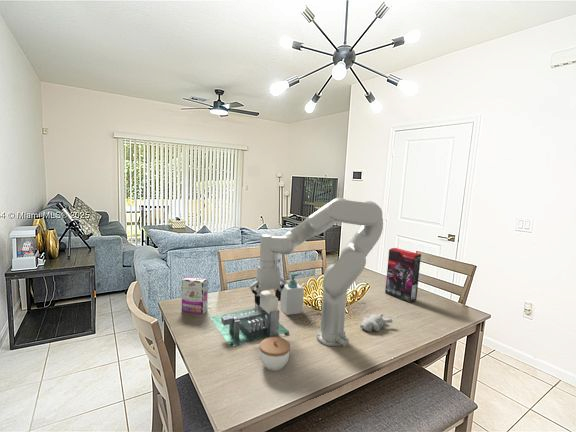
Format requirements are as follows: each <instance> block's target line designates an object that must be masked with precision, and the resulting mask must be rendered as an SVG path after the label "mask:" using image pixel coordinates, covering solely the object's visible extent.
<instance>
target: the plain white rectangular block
mask: <svg viewBox="0 0 576 432" xmlns="http://www.w3.org/2000/svg"><path fill="white" fill-rule="evenodd" d="M259 296H260V305H259V306H260V307H262V308H263V309H264V310H265V311H266V312H267V313H268V314H270V312H272V311H277V310H279V308H278V307H279V301H278V298H277V297H276V296H275V295H274V294H273V293H272V292H270V290H267V291H262V292H261V293H260V295H259Z"/></svg>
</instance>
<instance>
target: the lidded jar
mask: <svg viewBox="0 0 576 432" xmlns="http://www.w3.org/2000/svg"><path fill="white" fill-rule="evenodd" d="M290 353H291V343H290V342H289V341H288V339H285V338H283V337H278V336H271V337H267V338H264V339H263V340H262V339H261V341H260V343H259V357H260V361H261V364H263V366H265V368H266V370H269V371H273V372H276V371H280V370H282V368H283V367H284V366H286V364H287V363H288V361H289V358H290Z"/></svg>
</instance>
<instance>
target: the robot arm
mask: <svg viewBox="0 0 576 432" xmlns="http://www.w3.org/2000/svg"><path fill="white" fill-rule="evenodd" d="M337 223H343V224H349V225H350V224H351V225H358V226H359V227H358V230H357V231H356V232H355V234H354V235H353V236H352V238H351V239H350V240H349V242H348V243H347V244H345V246H344V247H343V248H342V250H341V252H340V256H339V258H338V259H337V261H335V263H332V264H330V265H329V266H327V267H326V268H325V270H324V274H323V278H322V287H323V291H322V303H321V318H320V329H319V330H318V331H317V332H316V336H315V337H316V339H317V341H318V342H320V343H321V344H323V345H325V346H329V347H330V346H331V347H340V346H344V347H345V346H346V345H347V343H348V342H349V340H350V339H349V338H348V336H347V335H346V331H345V318H346V307H347V306H346V305H347V294H348V290H349V289H350V288H351V286H352V285H353V283H354V282H356V280H357V278H358V277H359V276H360V275H361V273H363V271H364V269H365V267H366V264H367V259H366V258H367V256H368V255H369V253H370V252H371V251H372V250H373V248H374V247H375V245H376V244H377V242H378V241H379V240H380V238H381V235H382V233H383V229H384V218H383V211H382V208H381V206H380V205H378V204H377V203H376V202H375V201H371V200H369V201H355V200H350V199H349V200H348V199H346V198H343V197H336V198H333V199H332V200H330V201H329V202H327V203H326V204H325V205H323V206H322V207H320V208H319V209H317V210H316V211H315V212H313V213H312V214H310V215H309V216H307V217H306V218H304V220H302V221H301V222H300V223H299V224H298V225H296V226H294V227H293V228H292V229H290V230H289V231H287V232H286V233H284V234H283V235H281V236H278V235H277V234H275V233H263V234H261V236H260V243H259V245H260V246H259V247H260V248H259V265H258V266H257V268H256V274H255V281H254V282H253V283H251V284H250V285H249V286H248V287H249V290H250V292H251V293H252V294H253V295H254V304H255V303H256V304H257V305H260V296H259V295H260V293H261V292H262V291H272V290H274V289H277V290H276V291H274V294H275V295H274V296H276V297H277V298H278V302H281V292H282V289H283V288H284V285H285V284H286V281H287V279H284V278H282V277H281V271H280V267H279V263H281V258H280V259H279V254H280V255H284V256H285V255H287V256H288V255H290V254H292V253H293V252H294V251H295V249H296V248H297V247H298V246H300V245H301V244H303V243H304V242H305V241H307V240H309V239H310V238H312V237H315V236H318V235H321V234H322V233H324V232H325V231H327V230H329V229H331V228H332V227H333V226H335V225H336V224H337ZM280 281H281V282H282V284H281V285H280ZM255 288H256V289H255Z"/></svg>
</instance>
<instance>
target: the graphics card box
mask: <svg viewBox="0 0 576 432" xmlns="http://www.w3.org/2000/svg"><path fill="white" fill-rule="evenodd" d="M421 257H422V254H421V253H417V252H412V251H409V250H405V249H402V248H397V247H393V248H390V249H388V259H387V269H386V280H385V288H384V289H385V291H384V293H385V294H387V295H390V296H392V297H395V298H397V299H401V300H402V301H405V302H408V303H412V302H416V301H417V298H418V288H419V276H420V267H421V266H420V265H421Z"/></svg>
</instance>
